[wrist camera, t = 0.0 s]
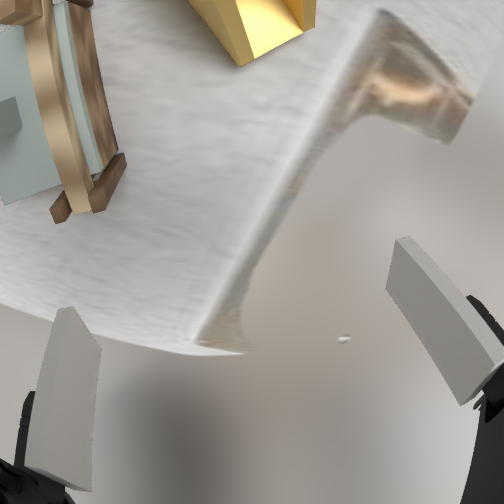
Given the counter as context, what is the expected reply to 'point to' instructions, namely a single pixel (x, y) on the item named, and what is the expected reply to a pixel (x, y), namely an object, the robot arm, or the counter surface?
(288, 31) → the yellow clevis bracket
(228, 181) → the counter surface
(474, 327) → the robot arm
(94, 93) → the wooden rack
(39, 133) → the lid
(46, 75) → the key
